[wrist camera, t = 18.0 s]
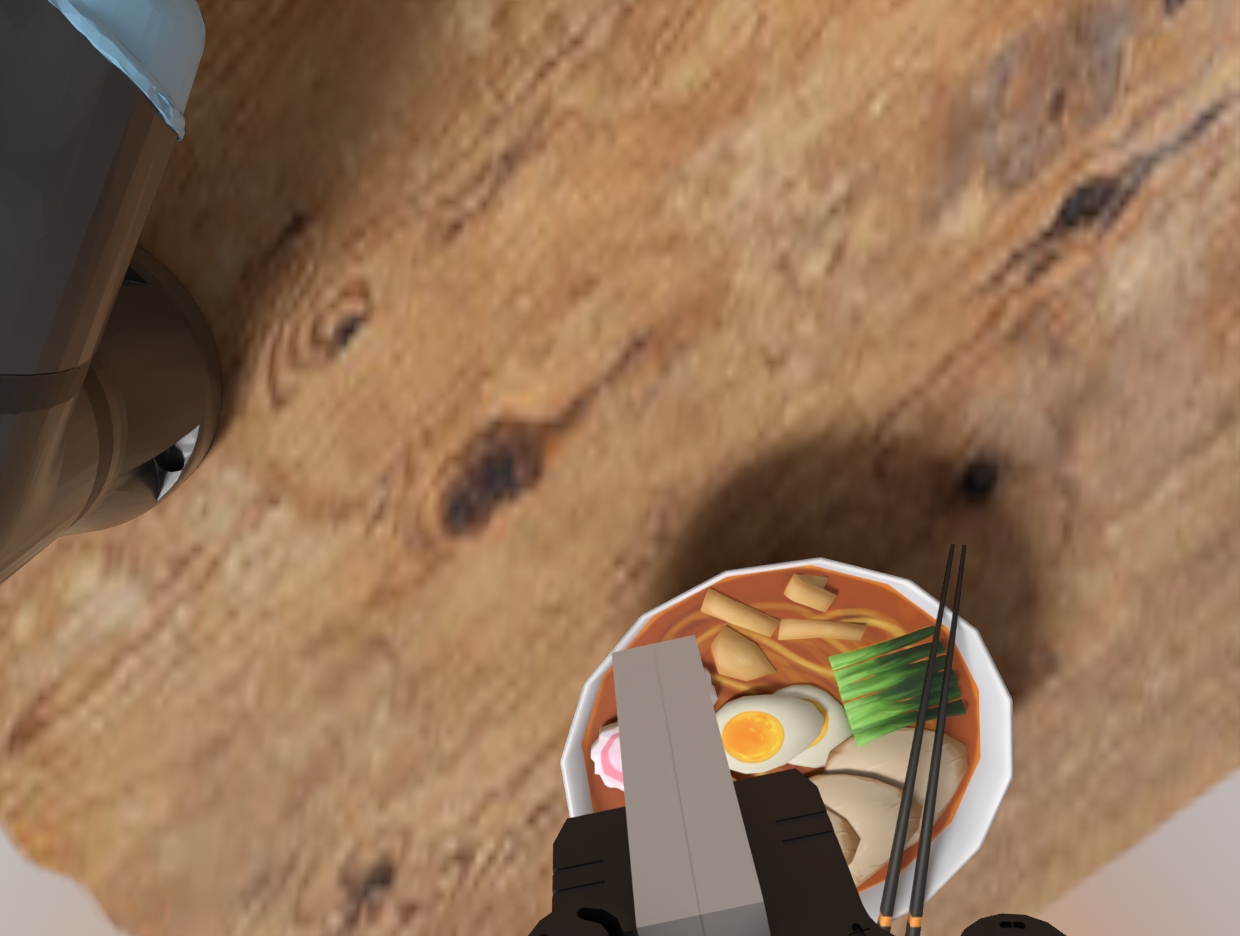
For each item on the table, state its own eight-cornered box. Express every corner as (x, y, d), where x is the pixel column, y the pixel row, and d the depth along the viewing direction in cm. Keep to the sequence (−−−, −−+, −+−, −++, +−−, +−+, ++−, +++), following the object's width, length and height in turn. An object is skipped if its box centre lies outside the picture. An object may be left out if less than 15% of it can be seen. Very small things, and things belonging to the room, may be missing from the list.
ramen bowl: (573, 472, 53) (575, 530, 45) (1001, 494, 55) (1073, 555, 47) (549, 870, 61) (547, 979, 53) (924, 880, 62) (975, 986, 55)
